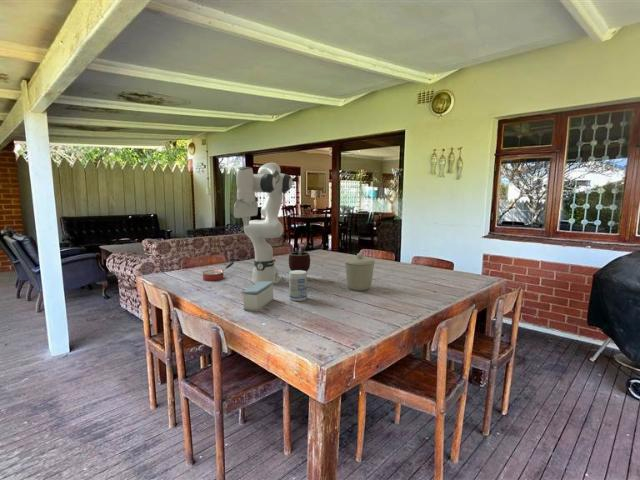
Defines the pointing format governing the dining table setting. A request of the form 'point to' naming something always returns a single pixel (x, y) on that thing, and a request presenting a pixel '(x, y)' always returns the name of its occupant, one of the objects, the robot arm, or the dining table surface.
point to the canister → (359, 272)
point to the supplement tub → (297, 285)
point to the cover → (257, 287)
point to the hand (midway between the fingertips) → (246, 225)
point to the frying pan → (215, 274)
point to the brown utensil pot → (299, 261)
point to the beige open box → (258, 299)
